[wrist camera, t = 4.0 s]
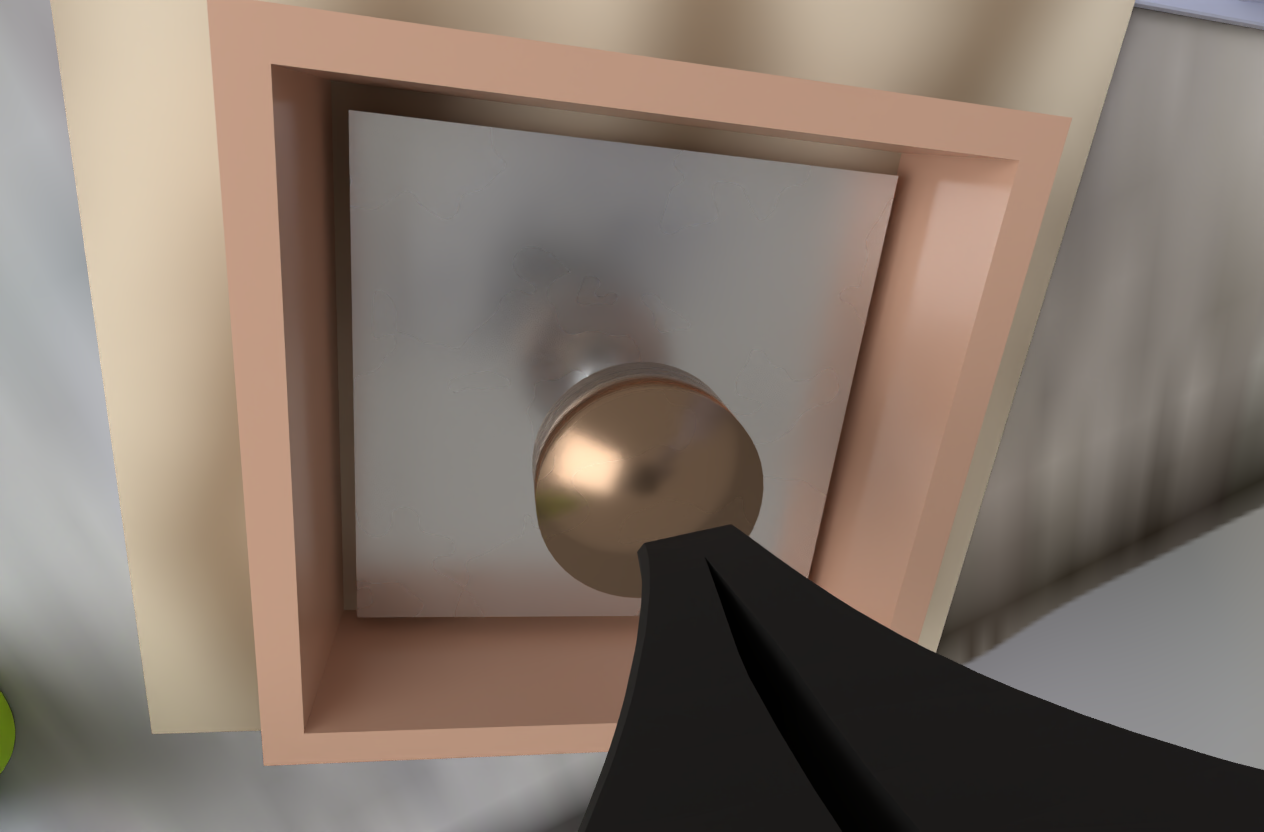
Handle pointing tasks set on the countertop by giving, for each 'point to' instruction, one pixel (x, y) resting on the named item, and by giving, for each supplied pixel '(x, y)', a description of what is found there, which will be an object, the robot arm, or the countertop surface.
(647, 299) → the square lid with knob
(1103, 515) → the countertop surface
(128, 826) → the countertop surface
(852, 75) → the serving board
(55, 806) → the countertop surface
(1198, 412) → the countertop surface
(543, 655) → the pink square tray
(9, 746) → the soap dispenser
